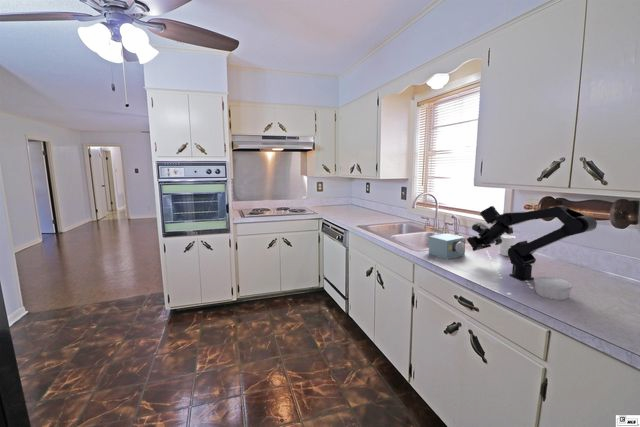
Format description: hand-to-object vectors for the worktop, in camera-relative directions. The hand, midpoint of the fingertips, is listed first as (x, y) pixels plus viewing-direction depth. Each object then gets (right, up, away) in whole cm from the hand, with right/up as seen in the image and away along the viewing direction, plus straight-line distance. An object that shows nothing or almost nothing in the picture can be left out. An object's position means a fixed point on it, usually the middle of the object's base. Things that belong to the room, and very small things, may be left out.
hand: (473, 250), depth 146 cm
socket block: (-7, -4, +15) cm, 17 cm away
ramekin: (+10, -12, -37) cm, 40 cm away
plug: (-6, -2, +13) cm, 14 cm away
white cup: (+24, -4, +13) cm, 28 cm away
